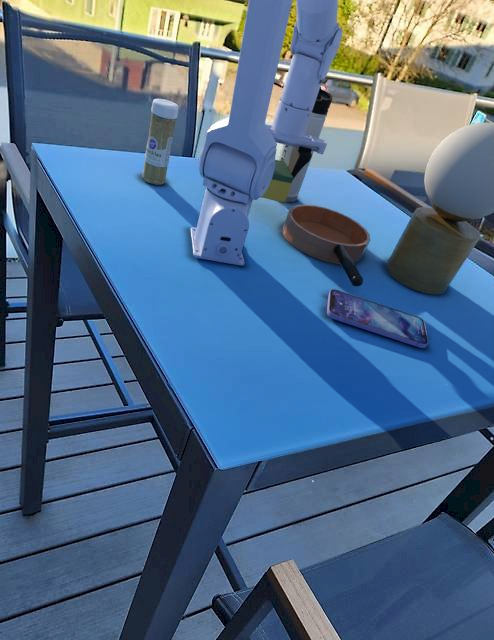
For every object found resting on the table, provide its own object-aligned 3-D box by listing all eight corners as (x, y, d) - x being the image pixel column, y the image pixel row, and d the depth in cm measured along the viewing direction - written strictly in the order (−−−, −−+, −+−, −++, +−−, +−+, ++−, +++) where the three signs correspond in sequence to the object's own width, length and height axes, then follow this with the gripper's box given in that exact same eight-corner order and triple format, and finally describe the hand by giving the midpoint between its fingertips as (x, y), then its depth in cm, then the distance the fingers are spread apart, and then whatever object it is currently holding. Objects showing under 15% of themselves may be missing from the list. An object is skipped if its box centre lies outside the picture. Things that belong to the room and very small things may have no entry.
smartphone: (429, 346, 69) (328, 312, 69) (426, 351, 69) (325, 318, 70) (424, 318, 74) (330, 287, 74) (421, 323, 75) (328, 292, 75)
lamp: (381, 243, 95) (453, 103, 79) (451, 270, 94) (539, 132, 77) (375, 275, 84) (457, 118, 68) (454, 305, 82) (558, 153, 66)
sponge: (285, 202, 89) (293, 177, 86) (259, 197, 88) (266, 172, 85) (277, 185, 95) (284, 161, 92) (252, 180, 93) (259, 156, 90)
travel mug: (295, 193, 105) (332, 90, 92) (296, 205, 100) (335, 97, 87) (267, 186, 104) (300, 80, 91) (267, 197, 99) (302, 87, 86)
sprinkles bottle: (137, 179, 90) (148, 99, 82) (148, 173, 94) (159, 96, 85) (159, 187, 90) (172, 108, 81) (169, 181, 93) (183, 104, 85)
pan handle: (361, 289, 75) (366, 279, 74) (350, 288, 75) (355, 277, 73) (340, 252, 83) (344, 242, 82) (330, 250, 83) (334, 240, 82)
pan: (372, 270, 85) (382, 252, 83) (291, 255, 82) (299, 236, 80) (347, 230, 96) (355, 213, 94) (275, 216, 93) (281, 198, 91)
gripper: (329, 108, 86) (302, 184, 95) (251, 88, 83) (230, 168, 92) (340, 119, 81) (310, 199, 90) (257, 99, 78) (235, 183, 86)
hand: (270, 184), depth 90 cm, fingers closed on sponge, 5 cm apart
